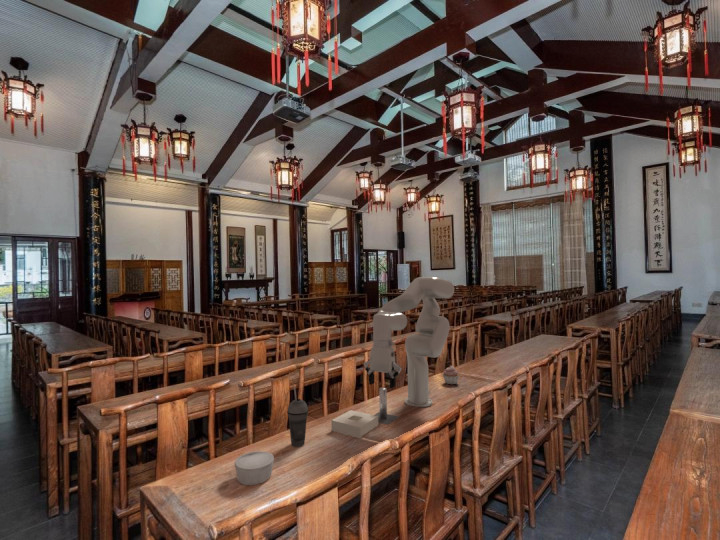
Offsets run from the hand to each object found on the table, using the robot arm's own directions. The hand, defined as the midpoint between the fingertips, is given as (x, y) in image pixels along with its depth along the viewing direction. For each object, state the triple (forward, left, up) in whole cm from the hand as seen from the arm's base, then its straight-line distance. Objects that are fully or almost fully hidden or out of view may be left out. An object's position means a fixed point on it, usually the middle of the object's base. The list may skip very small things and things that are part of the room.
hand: (381, 385), depth 154 cm
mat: (-1, 0, -14) cm, 14 cm away
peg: (-1, 0, -13) cm, 13 cm away
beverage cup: (+35, -14, -14) cm, 40 cm away
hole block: (+13, -4, -14) cm, 20 cm away
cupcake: (-66, +6, -14) cm, 67 cm away
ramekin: (+58, -10, -14) cm, 61 cm away
